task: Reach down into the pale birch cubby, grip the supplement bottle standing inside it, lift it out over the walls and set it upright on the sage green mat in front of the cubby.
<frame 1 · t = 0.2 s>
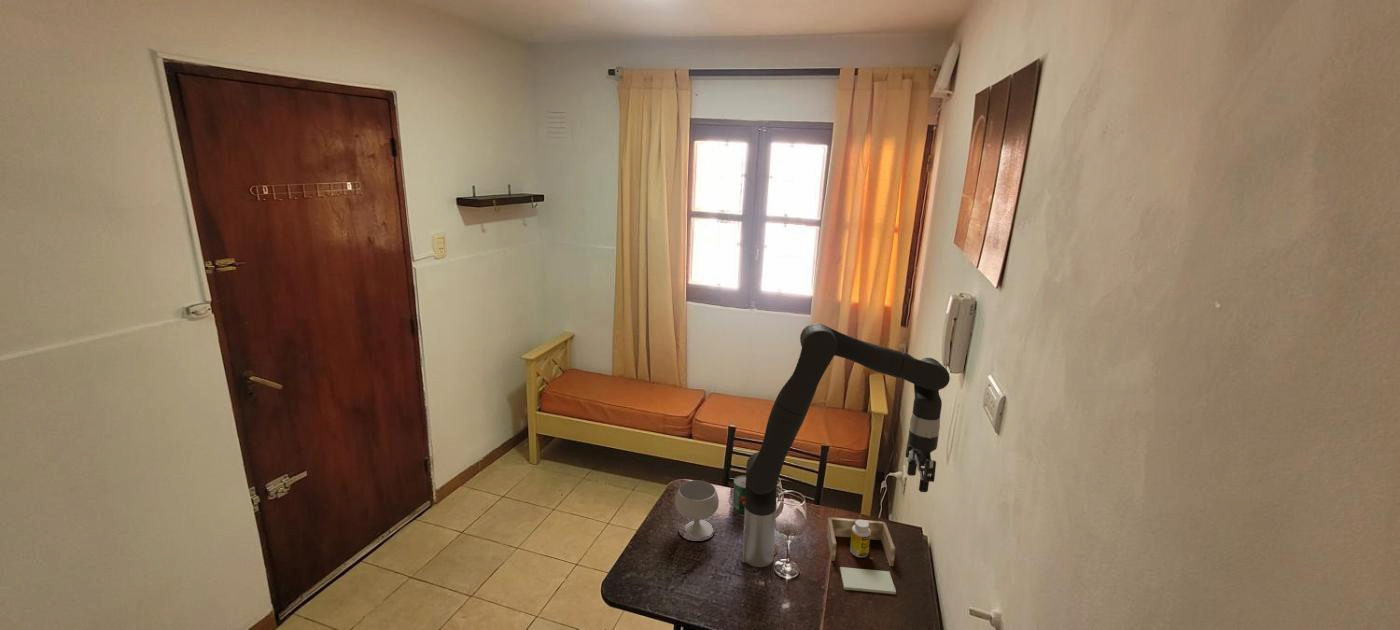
hand: (917, 483, 148), 28 cm above the table, tool pointing down, fingers open, 8 cm apart
canned tomato: (744, 510, 182), on the table
cubby: (858, 549, 163), on the table
supplement bottle: (859, 552, 161), on the table
chalice: (696, 531, 170), on the table
mat: (867, 581, 149), on the table
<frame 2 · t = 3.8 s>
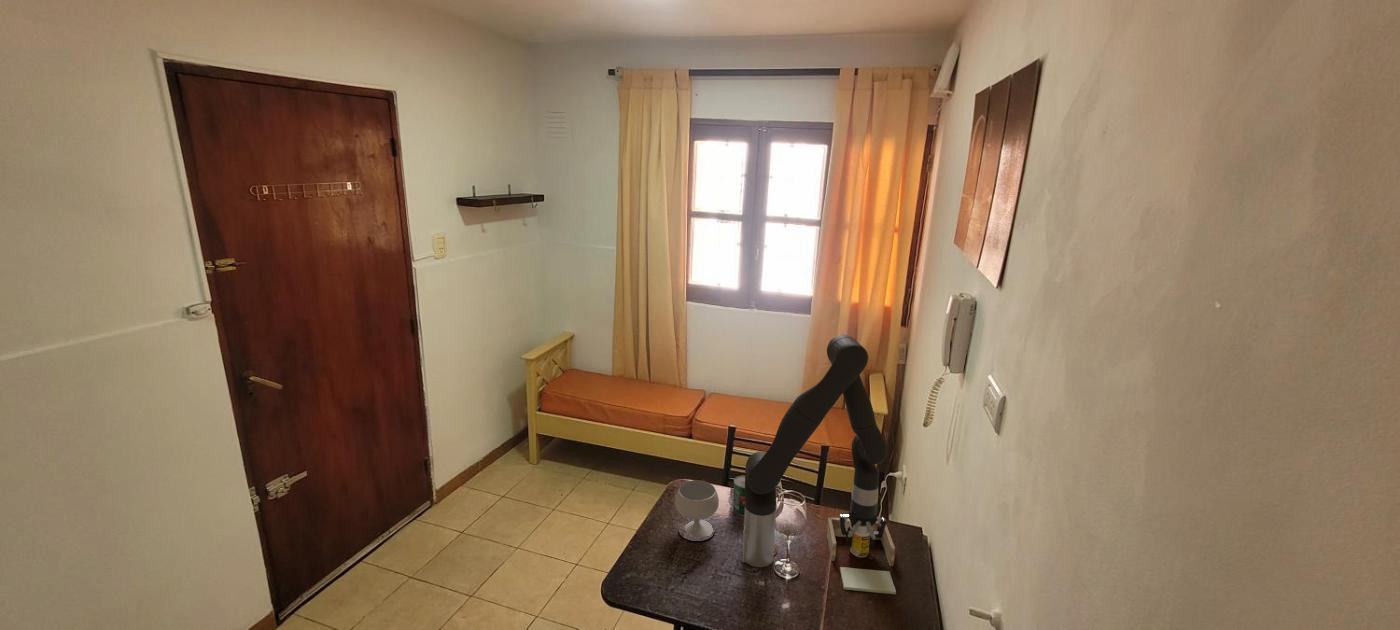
hand: (859, 546, 161), 2 cm above the table, tool pointing down, fingers closed on supplement bottle, 5 cm apart
supplement bottle: (859, 552, 161), on the table, touching gripper
everything else where it was.
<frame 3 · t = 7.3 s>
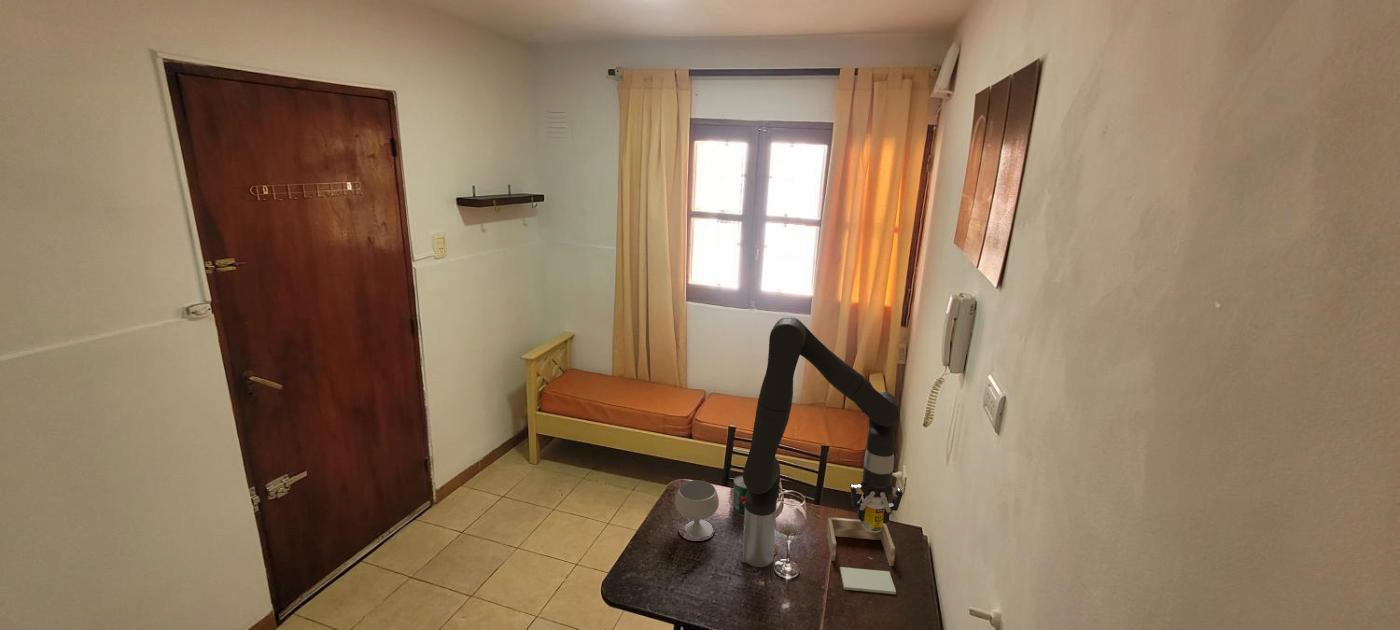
hand: (872, 520, 145), 19 cm above the table, tool pointing down, fingers closed on supplement bottle, 5 cm apart
supplement bottle: (872, 527, 145), point 17 cm above the table, touching gripper
everything else where it was.
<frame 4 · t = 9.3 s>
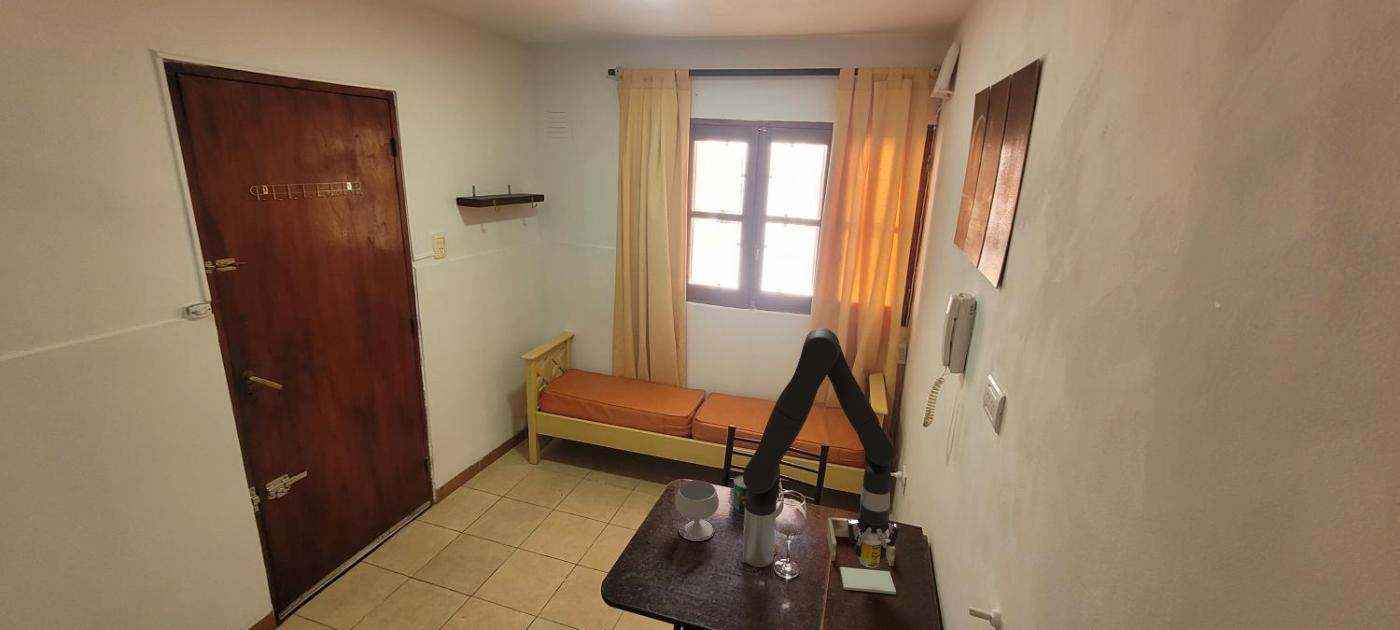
hand: (869, 555, 147), 8 cm above the table, tool pointing down, fingers closed on supplement bottle, 5 cm apart
supplement bottle: (869, 562, 148), point 6 cm above the table, touching gripper
everything else where it was.
when the fingers open (4 cm above the table, at t = 11.2 s): supplement bottle drops 1 cm, resting on mat.
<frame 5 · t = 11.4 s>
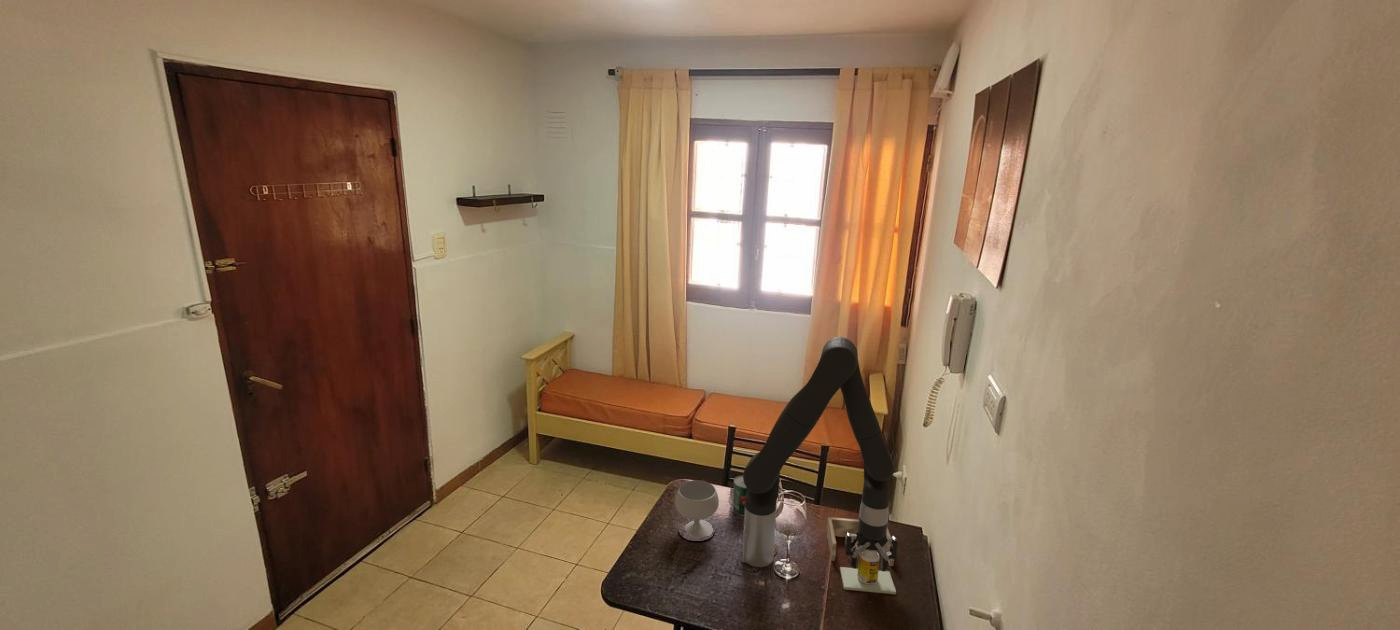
hand: (868, 568, 148), 4 cm above the table, tool pointing down, fingers open, 7 cm apart
supplement bottle: (867, 579, 149), point 1 cm above the table, touching mat
everything else where it was.
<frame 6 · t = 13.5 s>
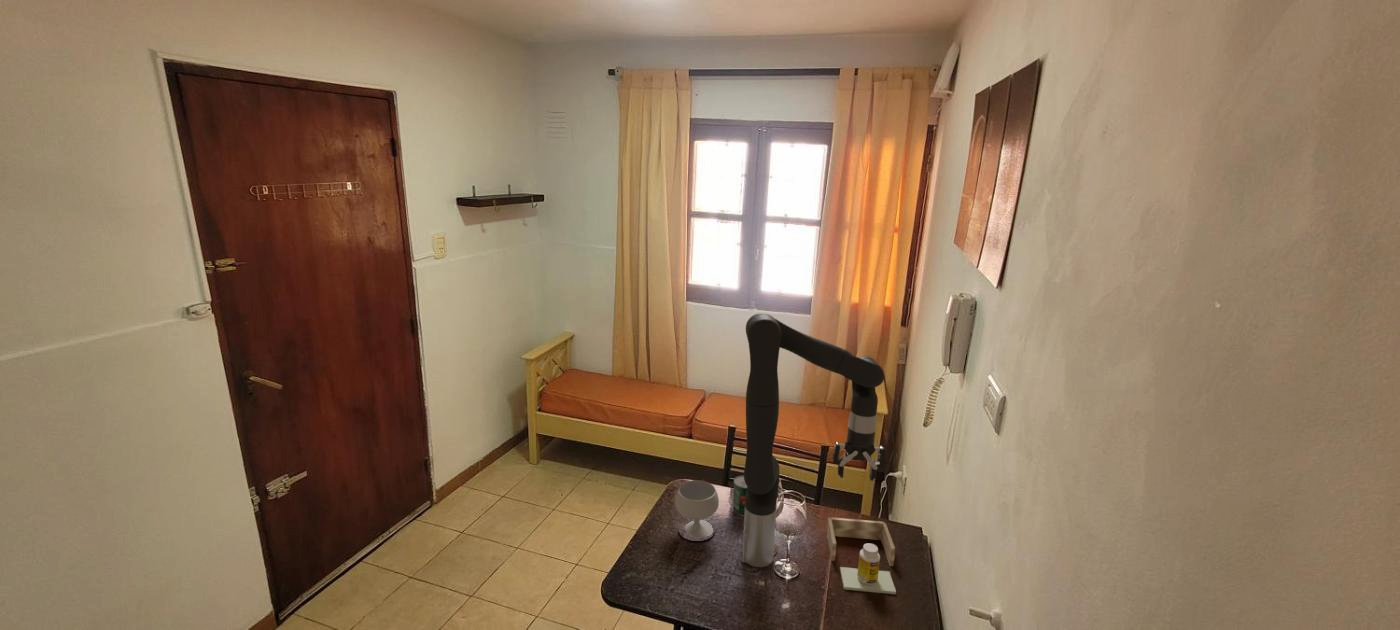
hand: (856, 477, 152), 27 cm above the table, tool pointing down, fingers open, 8 cm apart
nothing on the table moved.
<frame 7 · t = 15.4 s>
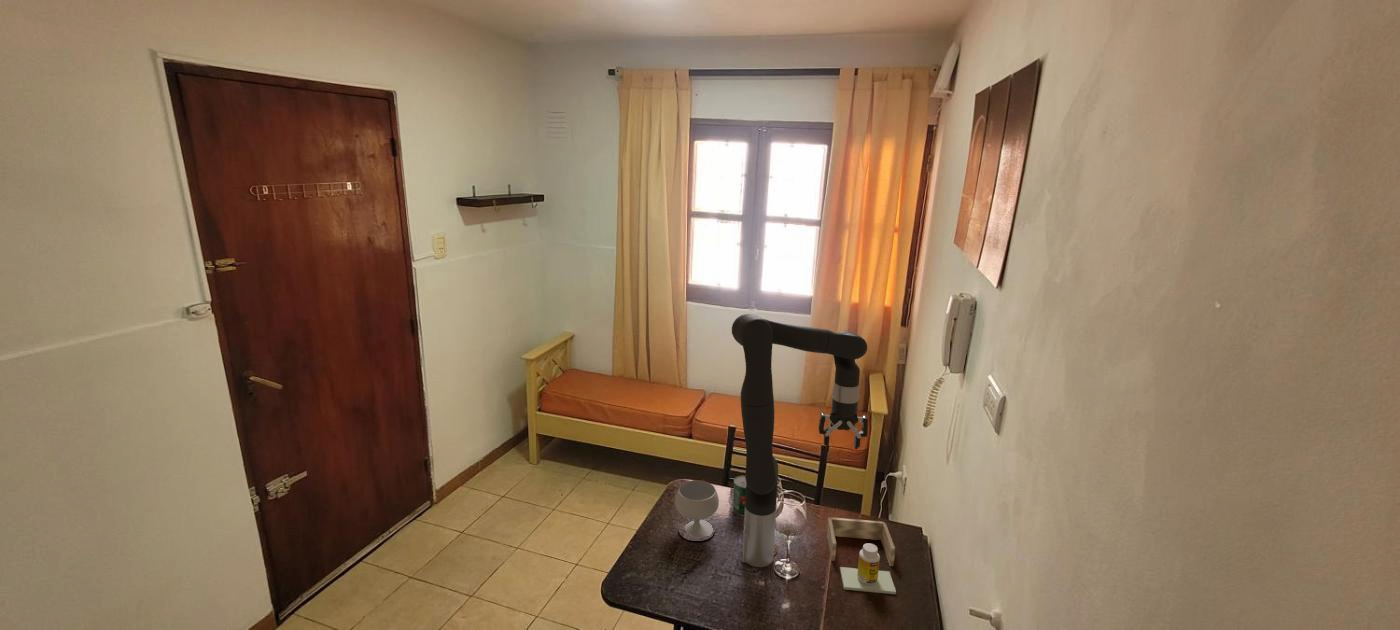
hand: (841, 447, 160), 32 cm above the table, tool pointing down, fingers open, 8 cm apart
nothing on the table moved.
at the end: supplement bottle inside the target area (0.0 cm from its centre), point 0.6 cm above the table; supplement bottle tilted 0°; the gripper is holding nothing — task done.
